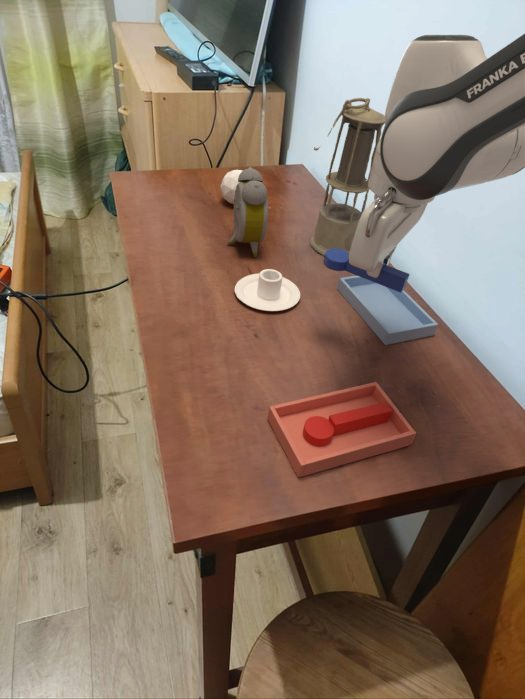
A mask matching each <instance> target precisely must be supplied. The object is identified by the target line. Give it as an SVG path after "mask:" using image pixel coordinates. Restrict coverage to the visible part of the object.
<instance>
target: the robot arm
mask: <svg viewBox="0 0 525 699" xmlns="http://www.w3.org/2000/svg"><path fill="white" fill-rule="evenodd" d="M384 115H385V124H384V125H383V128H382V129H383V130H382V132H381V137H380V140H379V142H378V145H377V148H376V152H375V156H374V160H373V164H372V168H371V172H370V171H369V173H370V176H369V175H368V176H369V180H368V179H367V180H368V187H369V189H370V190H369V191H371V192H372V193H373V194H374V196H373V199H374V200H373V201H372V202H371V203H370V204H368V205H366V206H365V210H364V211H363V213H362V215H361V217H360V220H359V222H358V225H357V228H356V232H355V235H354V238H353V242H352V245H351V248H350V252H349V263H350V264H351V265H353V266H355V267H358V268H360V269H363V270H366V271H367V274H368V275H369V276H372V277H374V278H377V277H378V276H379V275H380V274H381V272H382V269H383V266H384V265H387V266H389V265H390V263H391V260H392V256H394V253H395V251H396V248H397V246H398V245H399V244H400V243H401V242H402V240H403V239H404V238H405V237H406V236H407V235H408V234H409V233H410V231H411V230H412V229H413V228H414V227H415V226H416V225H417V224H418V223H419V221H420V220H421V218H422V216H423V215H424V213H425V211H426V208H427V206H428V204H430V203H432V202H433V201H434V200H435V198H436V197H438V196H440V195H443V194H444V195H445V194H446V193H448V192H451V191H456V190H461V189H465V188H469V187H473V186H478V185H481V184H482V185H483V184H485V183H489V182H494V181H497V180H503V179H505V178H507V177H510V176H513V175H515V174H517V173H519V172H521V171H522V170H524V169H525V33H523V34H522V35H521V36H519V37H518V38H516V39H515V40H513V41H512V42H510V43H509V44H507V45H506V46H504V47H503V48H501V49H500V50H498V51H497V52H495V53H494V54H493V55H491V56H490V57H488V58H487V55H486V54H485V51H484V47H483V44H482V42H481V41H480V40H479V39H478V38H476V37H475V36H472V35H468V34H424V35H420V36H418V37H416V38H414V39H412V40H411V41H410V43H409V44H408V45H407V47H406V49H405V50H404V52H403V54H402V57H401V58H400V61H399V63H398V66H397V69H396V72H395V75H394V78H393V81H392V84H391V87H390V92H389V95H388V99H387V104H386V107H385V112H384Z"/></svg>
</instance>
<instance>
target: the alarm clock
mask: <svg viewBox="0 0 525 699" xmlns="http://www.w3.org/2000/svg"><path fill="white" fill-rule="evenodd" d="M238 182H240V183H238V184H237V186H236V190H235V197H234V204H233V231H234V232H233V234H232V235H231V237H230V238H229V239H228V241H227V243H226V244H227V245H228V246H231V245H233V244H234V243H235V242H238V243H244V244H245V243H247V244H248V243H249V245H250V248H251V251H252V252H251V253H252V255H253V258H255V257H258V252H259V251H258V248H259V243H262V242H263V241H264V240H265V238H266V235H267V229H268V221H269V220H268V219H269V199H268V189H267V187H266V185H265V184H264V183H263V176H262V174H261V172H260V171H258V170H257V169H255V168H253V167H252V166H249V167H248V168H245V169H243V171H242V172H241V173H240V175H239V178H238ZM241 182H242V183H241Z"/></svg>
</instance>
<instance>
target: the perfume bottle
mask: <svg viewBox="0 0 525 699" xmlns="http://www.w3.org/2000/svg"><path fill="white" fill-rule="evenodd" d="M243 170H244V169H243ZM243 170H242V169H232V170H230V171H227V173H226V174H225V175H224V177H223V178H222V180H221V183H220V192H221V194H222V198H223V199H224V200H226V201H227V202H228V203H229V204H230V205H234V197H235V190H236V186H237V184H238V183H240V182H238V178H239V175H240V173H241V172H242V171H243ZM241 183H242V182H241Z"/></svg>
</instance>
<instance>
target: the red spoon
mask: <svg viewBox="0 0 525 699" xmlns="http://www.w3.org/2000/svg"><path fill="white" fill-rule="evenodd" d="M391 413H392V410H391V408H390V407H389V406H388V404H387V403H386V402H382V403H378V404H374V405H370V406H366V407H362V408H358V409H354V410H350V411H345V412H341V413H337V414H333V415H330V416H329V419H326V418H324V417H321V416H313V417H310V418H308V419H307V420H306V421H305V424H304V428H303V437H304V439H305V440H306V441H307V442H308V443H310V444H311V445H314V446H325V445H327V444H329V443H330V442H331V440H332V436H336V435H340V434H344V433H348V432H351V431H355V430H359V429H363V428H367V427H370V426H374V425H378V424H382V423H386V422H388V420H389V418H390V415H391Z"/></svg>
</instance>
